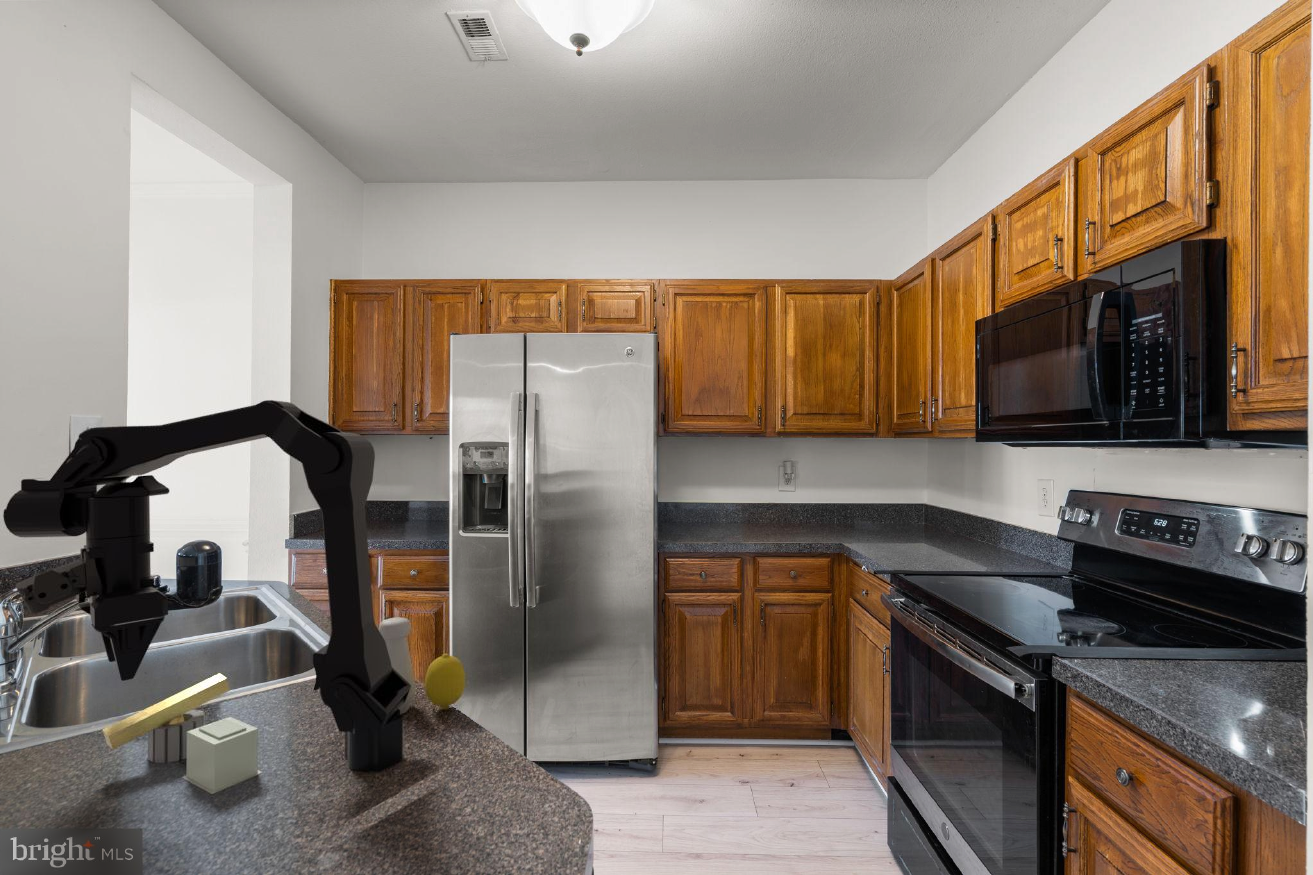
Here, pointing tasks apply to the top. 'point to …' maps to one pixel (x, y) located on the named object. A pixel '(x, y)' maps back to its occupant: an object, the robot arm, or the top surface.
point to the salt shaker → (399, 652)
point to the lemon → (445, 681)
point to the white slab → (177, 743)
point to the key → (165, 711)
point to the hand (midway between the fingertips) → (120, 669)
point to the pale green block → (222, 753)
